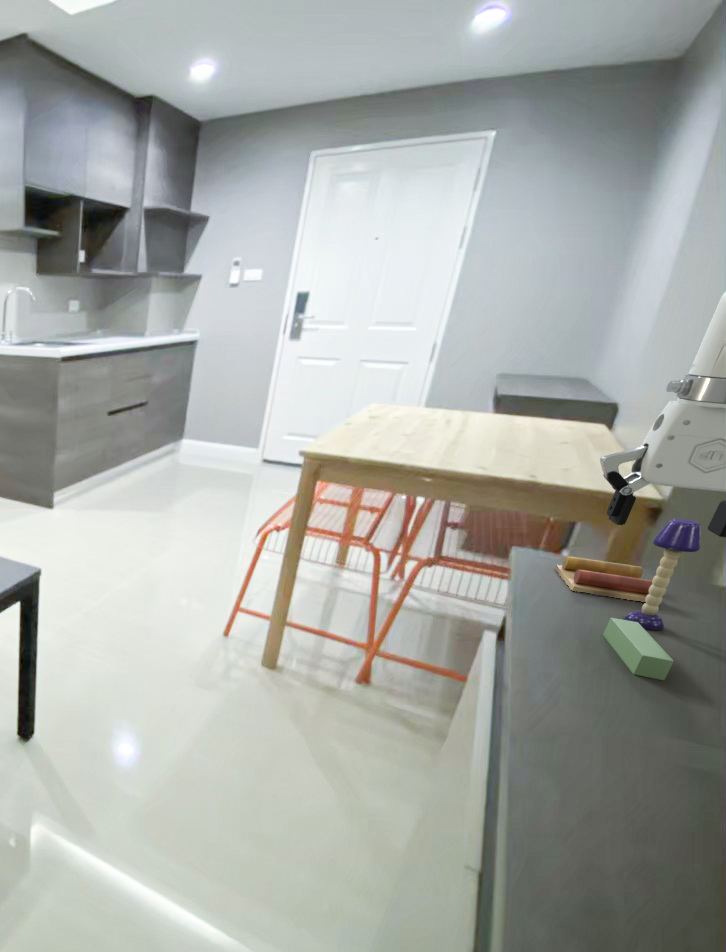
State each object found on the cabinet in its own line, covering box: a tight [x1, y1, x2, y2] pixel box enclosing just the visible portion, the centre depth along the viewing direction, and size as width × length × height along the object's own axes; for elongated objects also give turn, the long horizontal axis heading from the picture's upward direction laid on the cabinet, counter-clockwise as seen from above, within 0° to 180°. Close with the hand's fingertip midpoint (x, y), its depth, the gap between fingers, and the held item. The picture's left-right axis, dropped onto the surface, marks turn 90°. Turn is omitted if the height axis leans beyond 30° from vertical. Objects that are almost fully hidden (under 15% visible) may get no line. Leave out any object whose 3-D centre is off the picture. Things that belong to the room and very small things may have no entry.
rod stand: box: [554, 555, 653, 603], centre depth 106 cm, size 11×11×3 cm
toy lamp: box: [623, 518, 701, 631], centre depth 91 cm, size 5×5×17 cm
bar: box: [602, 617, 674, 681], centre depth 84 cm, size 12×3×3 cm, turn 151°
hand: (665, 527), depth 79 cm, fingers open, 9 cm apart
